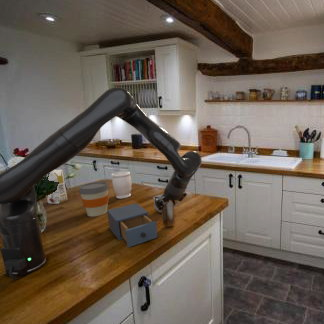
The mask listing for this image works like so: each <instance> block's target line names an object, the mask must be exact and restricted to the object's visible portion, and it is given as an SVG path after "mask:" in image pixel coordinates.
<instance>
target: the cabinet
mask: <svg viewBox="0 0 324 324" xmlns="http://www.w3.org/2000/svg"><path fill="white" fill-rule="evenodd" d="M142 215H145V216H147V217H148V218H149V219H150V217H149V212H148V211H147V210H146V209H145V208H143V207H142V205H139V204H138V203H137V202H136V203H131V204H127V205H123V206H120V207H115V208H111V209H107V221H108V228H109V229H110V231H111V232H112V233H113V235H114V237H116V238H117V239H118V241H121V240H124V238H123V237H122V236H121V235H120V228H119V222H120V221H124V220H127V219H131V218H135V217H138V216H142Z"/></svg>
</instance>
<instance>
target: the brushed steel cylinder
mask: <svg viewBox="0 0 324 324" xmlns="http://www.w3.org/2000/svg"><path fill="white" fill-rule="evenodd" d="M162 204H163V203H162ZM161 217H162V226H163V227H172V226H174V225H175V224H176V217H175V208H174V203H173V201H171V202H169V203H168V204H167V205H164V206H163V208H162V213H161Z"/></svg>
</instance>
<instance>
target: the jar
mask: <svg viewBox="0 0 324 324" xmlns="http://www.w3.org/2000/svg"><path fill="white" fill-rule="evenodd" d="M110 174H111V177H112V181H111V182H112V188H113V190H114V191H113V192H114V193H115V194H116V195H115V197H116V199H119V200H120V199H121V200H122V199H127V198H129V197H132V193H131V191H132V177H131V171H128V170H122V171H116V172H112V173H110Z"/></svg>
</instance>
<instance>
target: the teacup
mask: <svg viewBox="0 0 324 324" xmlns="http://www.w3.org/2000/svg"><path fill="white" fill-rule="evenodd" d="M162 195H163V194H158V195H155V196H153V198H152V199H153V207H154V210H155V211H157V212H158V213H161V214H162V210H158V208H157V207H156V204H155V197H159V198H160V197H162ZM180 203H181V202H179V201H178V203H176V205H175V206H174V209H176V208H177V207H178V206H179V205H180Z"/></svg>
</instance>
